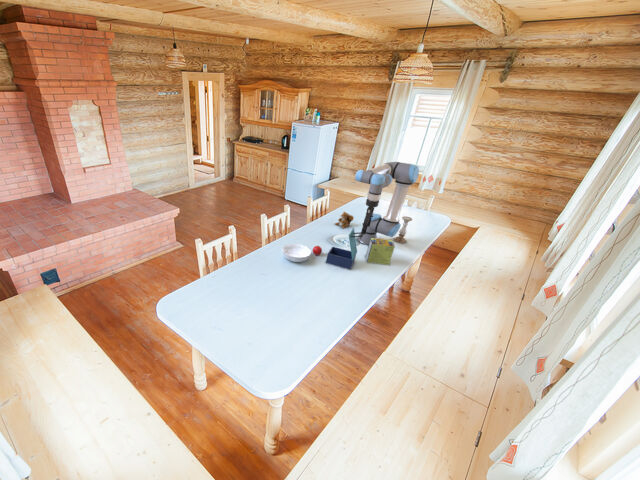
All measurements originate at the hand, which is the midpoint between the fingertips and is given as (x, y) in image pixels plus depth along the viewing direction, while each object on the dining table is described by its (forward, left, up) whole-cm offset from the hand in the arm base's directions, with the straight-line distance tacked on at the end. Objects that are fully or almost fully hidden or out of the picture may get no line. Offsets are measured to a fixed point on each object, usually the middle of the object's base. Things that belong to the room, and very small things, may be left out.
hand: (365, 229), depth 212 cm
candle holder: (-63, +23, -29) cm, 73 cm away
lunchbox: (0, -11, -29) cm, 31 cm away
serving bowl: (+12, -41, -29) cm, 52 cm away
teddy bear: (-68, -25, -29) cm, 78 cm away
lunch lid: (0, -6, -12) cm, 13 cm away
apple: (-2, -30, -26) cm, 39 cm away
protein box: (-18, +12, -29) cm, 36 cm away
